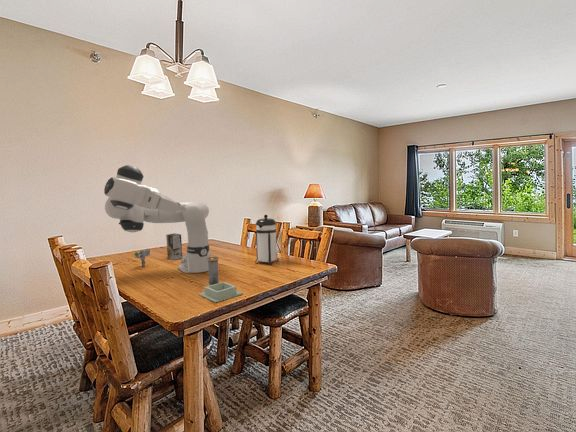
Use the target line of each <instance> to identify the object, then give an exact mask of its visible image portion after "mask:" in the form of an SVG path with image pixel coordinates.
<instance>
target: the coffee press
mask: <svg viewBox="0 0 576 432" xmlns="http://www.w3.org/2000/svg"><path fill="white" fill-rule="evenodd" d="M255 225H256V228H255V238H256V241H255V243H256V260H255V261H254V262H255V264H259V263H268V265H269V266H271V265H272V262H275V261H276V262H279V259H278V257H277V221H276V220H275V219H273V218H268V215H267V214H264V215H263V218H259V219H257V220H256V222H255Z"/></svg>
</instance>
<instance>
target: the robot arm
mask: <svg viewBox="0 0 576 432" xmlns="http://www.w3.org/2000/svg"><path fill="white" fill-rule="evenodd" d="M143 179H144V174H143V173H142V171H141V170H140V168H138V167H136V166H134V165H130V164H129V165H127V164H126V165H124V166H121V167H118V169H117V173H116V177H114V176H112V177H110V178H109V179H107V182H106V183H105V186H104V191H103V193H104V195H105V197H108V198H107V199H106V201H105V203H104V210H105V213H106V214H107V216H108V217H109V218H112V219H115V220H119V222H118V225H120V226H121V229H122V230H123V231H125V232H129V233H137V232H140V231H142V230H143V229H144V225H145V223H144V222H146V223H152V224H168V223H169V224H170V223H171V224H172V223H183V222H184V223H185V227H186V232H187V244H188V245H187V246H186V253H185V254H184V255H182V258H181V259H180V263H181V264H179V265H177V269H178V270H180V271H181V272H183V274H189V273H190V274H191V273H192V274H193V273H194V274H195V273H205V272H209V268H208V261H207V258H209V257H212V253H211V252H210V245H209V231H208V228H207V225H206V218H207V217H208V216H209V213H210V212H209V211H210V208H209V207H208V205H207V203H204V202H202V201H188V202H187V201H185V202H176V201H175V200H173V199H172V198H170V197H169V196H167V195H164V194H162V193H161V192H159V189H158V188H156V187H151V186H149V185H145V184H142V182H143Z"/></svg>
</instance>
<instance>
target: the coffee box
mask: <svg viewBox="0 0 576 432" xmlns="http://www.w3.org/2000/svg"><path fill="white" fill-rule="evenodd" d="M165 237H166V248H167V249H166V252H167V259H170V260H173V261H174V260H175V261H176V260H182V257H183V245H182V242H183V241H182V234H181V233H180V234H179V233H169V234H166V236H165Z"/></svg>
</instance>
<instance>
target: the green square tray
mask: <svg viewBox="0 0 576 432" xmlns="http://www.w3.org/2000/svg"><path fill="white" fill-rule="evenodd" d="M243 294H244V293H243V292H241V291H238V290H237V286H236V285H233V284H231V283H228V282H226V281H220V282H219V283H217V284H214V285H210V286H209V285H207V286H204V291H203V292H200V293H199V292H198V296H200V295H201V296H200V297H202V296H203V297H202V298H204V297H205V298H204V299H206V298H207V299H206V300H208V299H209V300H208V301H210V300H211V301H210V302H212V301H213V302H212V303H214V302H215V303H214V304H216V302H218V303H221V302H224V301H227V300H231V299H233V298H236V297H238V296H242V295H243ZM226 299H227V300H226ZM223 300H224V301H223ZM220 301H221V302H220Z"/></svg>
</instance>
